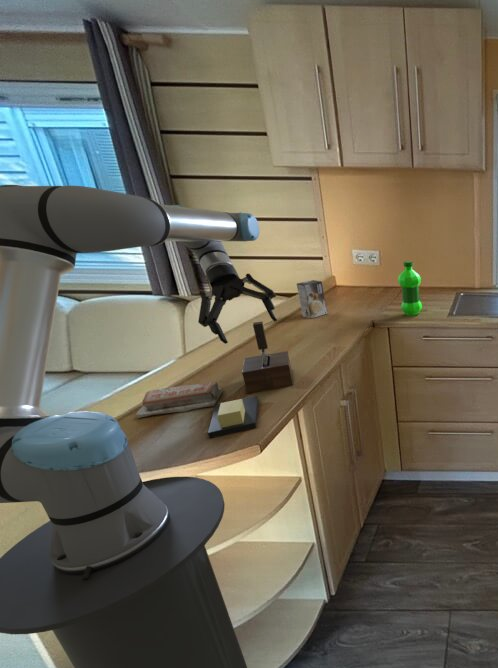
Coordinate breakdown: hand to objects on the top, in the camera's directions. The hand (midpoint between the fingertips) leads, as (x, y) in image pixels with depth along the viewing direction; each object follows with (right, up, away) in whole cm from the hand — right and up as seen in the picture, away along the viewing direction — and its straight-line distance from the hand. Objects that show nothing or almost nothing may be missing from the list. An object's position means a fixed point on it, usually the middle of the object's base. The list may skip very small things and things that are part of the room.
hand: (249, 330), depth 113 cm
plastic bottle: (+28, +10, +83) cm, 88 cm away
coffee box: (-19, +9, +80) cm, 83 cm away
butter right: (+2, -23, -8) cm, 25 cm away
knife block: (-2, -16, +15) cm, 22 cm away
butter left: (0, -23, -9) cm, 25 cm away
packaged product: (-20, -21, +1) cm, 29 cm away
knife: (-2, -16, +15) cm, 22 cm away
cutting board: (0, -23, -5) cm, 24 cm away
